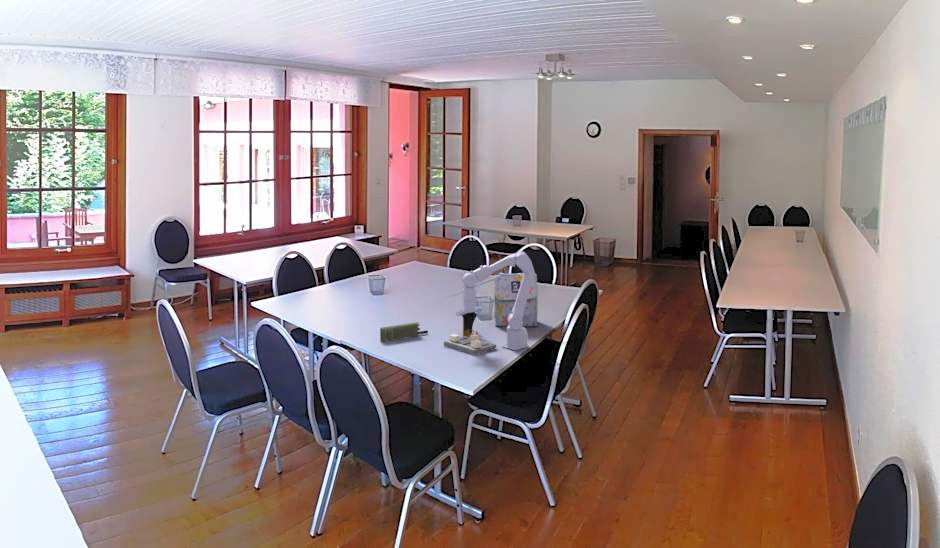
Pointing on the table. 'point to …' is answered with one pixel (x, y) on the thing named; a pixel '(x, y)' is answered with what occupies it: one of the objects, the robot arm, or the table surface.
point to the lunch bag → (514, 299)
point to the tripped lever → (474, 337)
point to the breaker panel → (469, 345)
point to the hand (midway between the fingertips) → (469, 328)
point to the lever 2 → (475, 344)
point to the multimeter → (467, 330)
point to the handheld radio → (400, 331)
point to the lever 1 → (454, 338)
